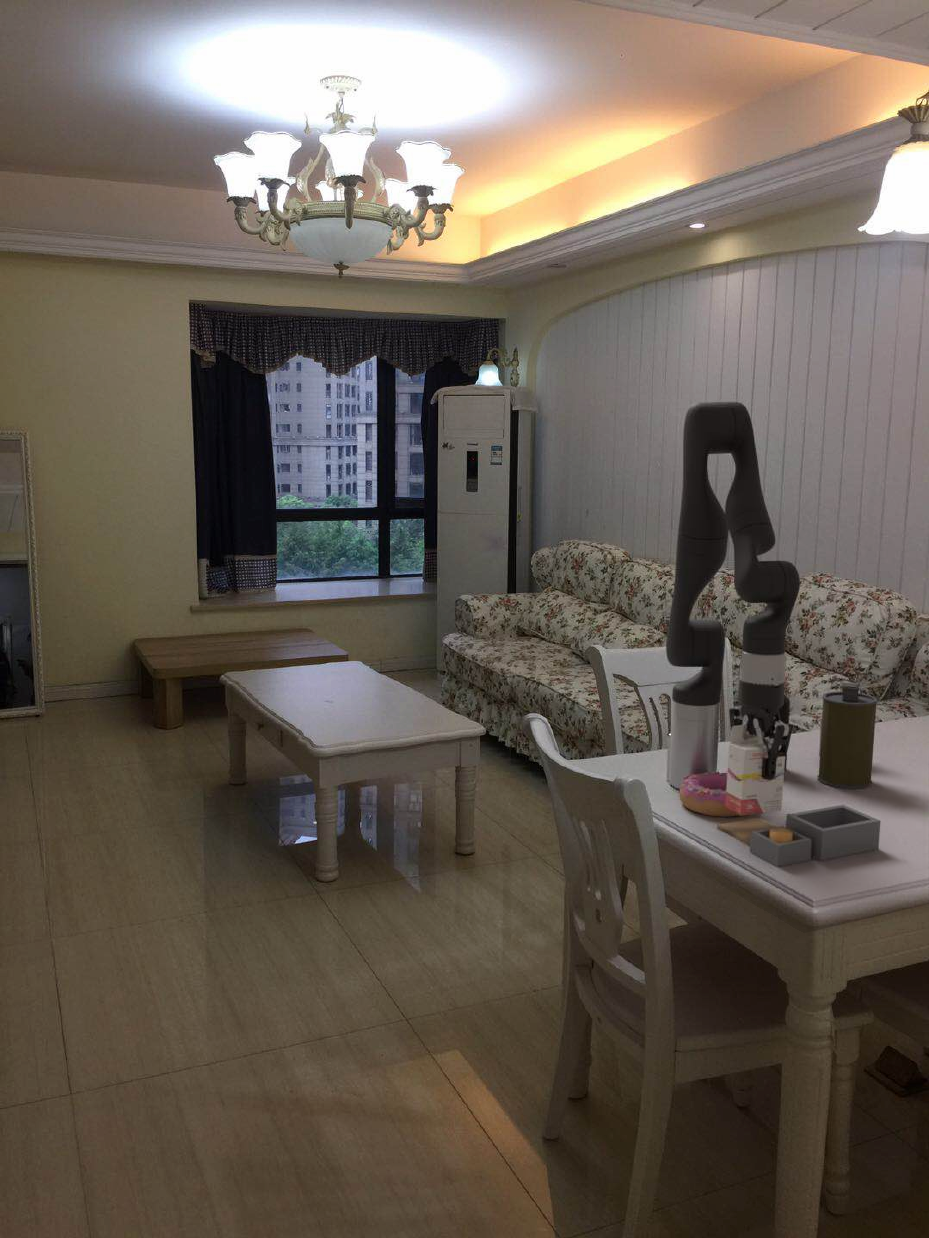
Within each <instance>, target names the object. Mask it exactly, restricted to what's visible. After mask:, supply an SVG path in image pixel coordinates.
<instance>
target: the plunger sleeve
mask: <svg viewBox="0 0 929 1238" xmlns="http://www.w3.org/2000/svg"><path fill="white" fill-rule="evenodd" d="M775 828H781V829H786V830H789V831H791V832H792V833H793V836H792V841H789V842H784V843H777V842H775V841H774V840H772V839H770V838H769V836H770V830H771V829H775ZM811 845H812V839H809V838H807V837H805V836H803V835H801V834H799V833H797V832H795V831H793V830H791V829H789V828H787V827H786V826H785V825H781V826H776V827H774V828H768V829H763V830H757V831H752V832H751V837H750V845H749V852H750V853H751V854H753V855H755V856H757V857H759V858H761V859H762V860H765V861H766V862H768V863H770V864H772V865H774V866H775V867H777V868H778V867H782V866H787V865H793V864H797V863H802V862H808V861H811V859H812V858H811V857H812V856H811Z"/></svg>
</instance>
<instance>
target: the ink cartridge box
mask: <svg viewBox="0 0 929 1238" xmlns="http://www.w3.org/2000/svg"><path fill="white" fill-rule="evenodd" d="M743 728H744V725H740V726H733V727H732V730H731V729H730V741H729V743H728V757H727V772H726V773H727V789H726V807H727V808H729V809H730V810H732V811H734V812H736V813H738V814H739V815H740V816H748V815H757V814H765V813H773V812H781V811H782V807H783V792H784V791H783V790H784V781H785V779H784V777H785V772H784V767H785V756H784V757H778V758H777V760H776V774H775V776H774V778H773V779H768V780H765V779H763V778H762V759H763V758H764V756H763V751H762V746H761V745H759V743H758V738H757V736H756V737H754V738H748V739H747V740H745V741H744V738H743V737H742V736H743ZM765 739H767V740H768V739H769V737H765ZM768 747H769V751H771V749H772V748H771V745H770V744H768ZM780 748H781V746H780V747H779V750H780Z"/></svg>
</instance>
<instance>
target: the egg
mask: <svg viewBox="0 0 929 1238" xmlns="http://www.w3.org/2000/svg"><path fill="white" fill-rule="evenodd" d="M792 836H793V833H792V832H791V831H789V830H786V829H781V828H775V829H771V830H770V836H769V838H770V839H772V840H774V841H775V842H777V843H784V842H789V841H792Z"/></svg>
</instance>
